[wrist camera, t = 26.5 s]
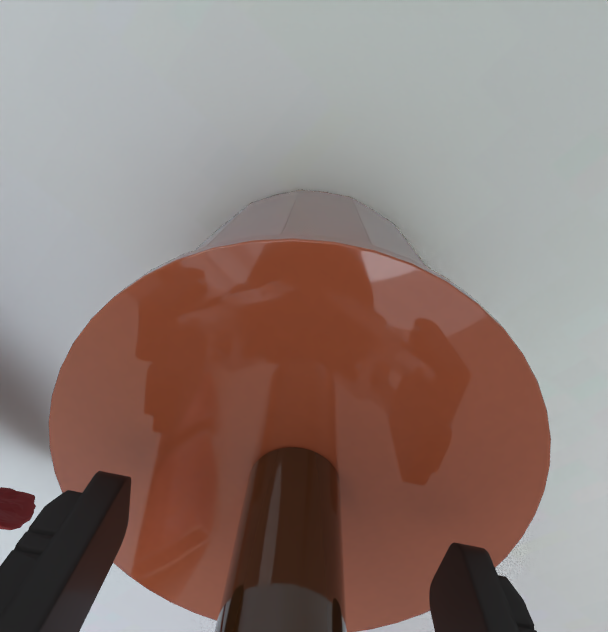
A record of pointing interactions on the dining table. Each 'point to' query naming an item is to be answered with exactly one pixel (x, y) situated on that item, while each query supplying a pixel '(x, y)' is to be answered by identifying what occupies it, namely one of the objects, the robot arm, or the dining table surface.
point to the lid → (301, 431)
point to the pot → (314, 221)
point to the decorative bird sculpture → (15, 508)
